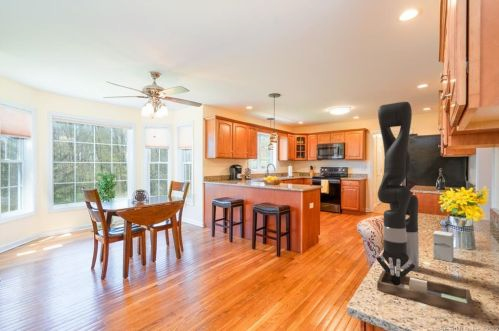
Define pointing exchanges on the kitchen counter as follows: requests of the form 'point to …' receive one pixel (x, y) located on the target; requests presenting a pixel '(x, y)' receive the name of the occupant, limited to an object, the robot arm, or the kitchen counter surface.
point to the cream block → (418, 285)
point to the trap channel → (430, 293)
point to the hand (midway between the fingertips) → (395, 284)
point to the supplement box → (443, 245)
